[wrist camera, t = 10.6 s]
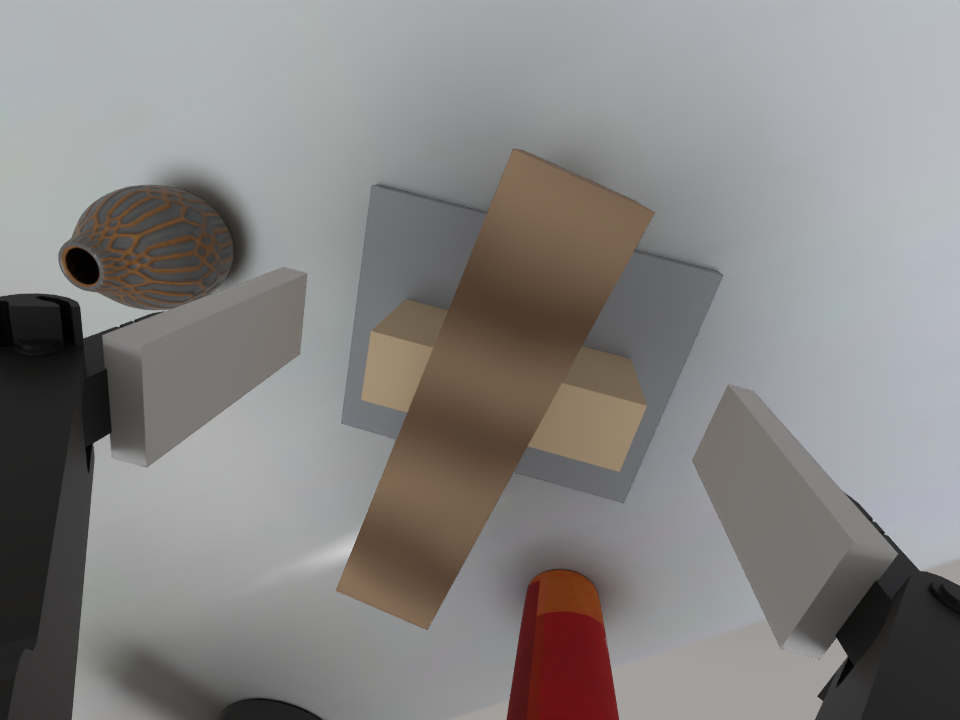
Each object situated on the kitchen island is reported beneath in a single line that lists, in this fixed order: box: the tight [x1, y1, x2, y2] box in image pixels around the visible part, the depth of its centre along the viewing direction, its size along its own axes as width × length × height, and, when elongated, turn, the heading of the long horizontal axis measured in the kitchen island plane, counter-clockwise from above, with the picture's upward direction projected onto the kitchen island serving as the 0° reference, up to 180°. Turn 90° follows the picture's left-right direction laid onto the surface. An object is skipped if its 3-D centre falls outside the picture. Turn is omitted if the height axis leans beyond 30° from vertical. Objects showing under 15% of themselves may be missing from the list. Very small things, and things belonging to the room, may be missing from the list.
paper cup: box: [507, 569, 619, 720], centre depth 32 cm, size 8×8×14 cm
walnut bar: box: [336, 149, 655, 630], centre depth 23 cm, size 22×5×5 cm, turn 158°
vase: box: [58, 185, 234, 310], centre depth 28 cm, size 7×7×9 cm
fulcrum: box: [341, 185, 723, 503], centre depth 28 cm, size 16×20×7 cm
